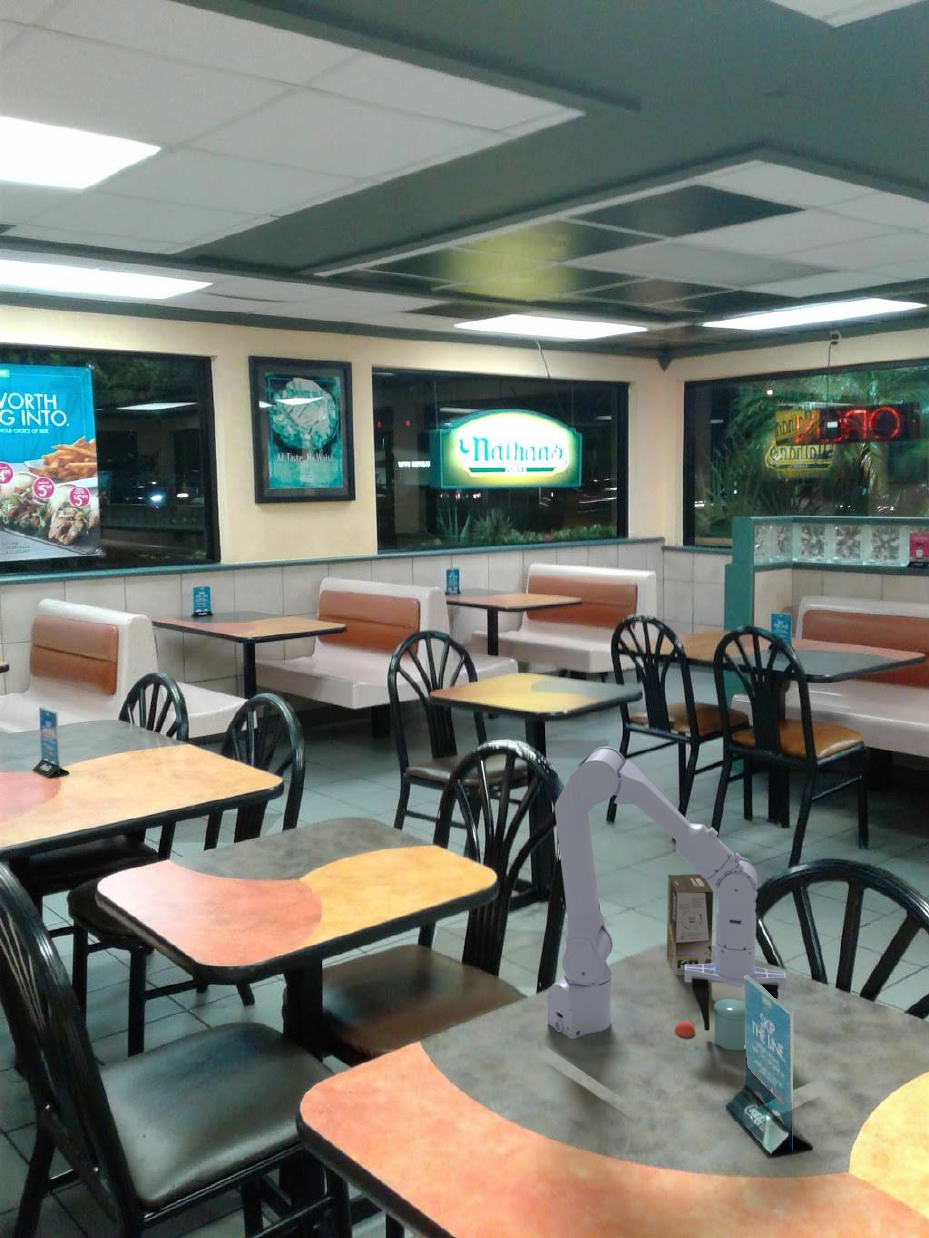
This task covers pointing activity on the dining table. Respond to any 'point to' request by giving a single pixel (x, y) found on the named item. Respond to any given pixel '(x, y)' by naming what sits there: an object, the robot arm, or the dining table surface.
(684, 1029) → the red ball
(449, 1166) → the dining table surface
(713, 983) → the white rounded cylinder
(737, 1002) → the teal octagonal canister
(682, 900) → the coffee box
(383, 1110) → the dining table surface
